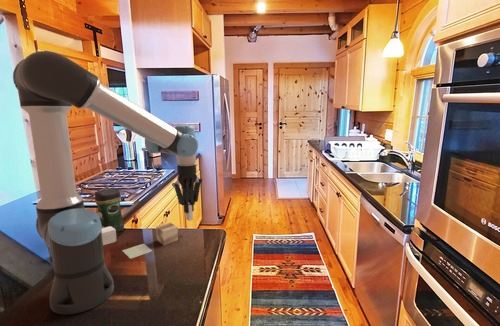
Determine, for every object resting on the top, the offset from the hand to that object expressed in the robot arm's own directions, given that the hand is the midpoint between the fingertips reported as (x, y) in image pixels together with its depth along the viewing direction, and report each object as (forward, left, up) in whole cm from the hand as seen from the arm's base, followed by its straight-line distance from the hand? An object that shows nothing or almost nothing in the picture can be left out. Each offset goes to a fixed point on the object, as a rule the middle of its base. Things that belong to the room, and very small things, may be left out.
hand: (189, 219), depth 116 cm
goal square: (0, +22, -6) cm, 23 cm away
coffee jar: (+25, +23, -6) cm, 35 cm away
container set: (+15, +35, -7) cm, 39 cm away
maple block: (0, +10, -6) cm, 12 cm away
